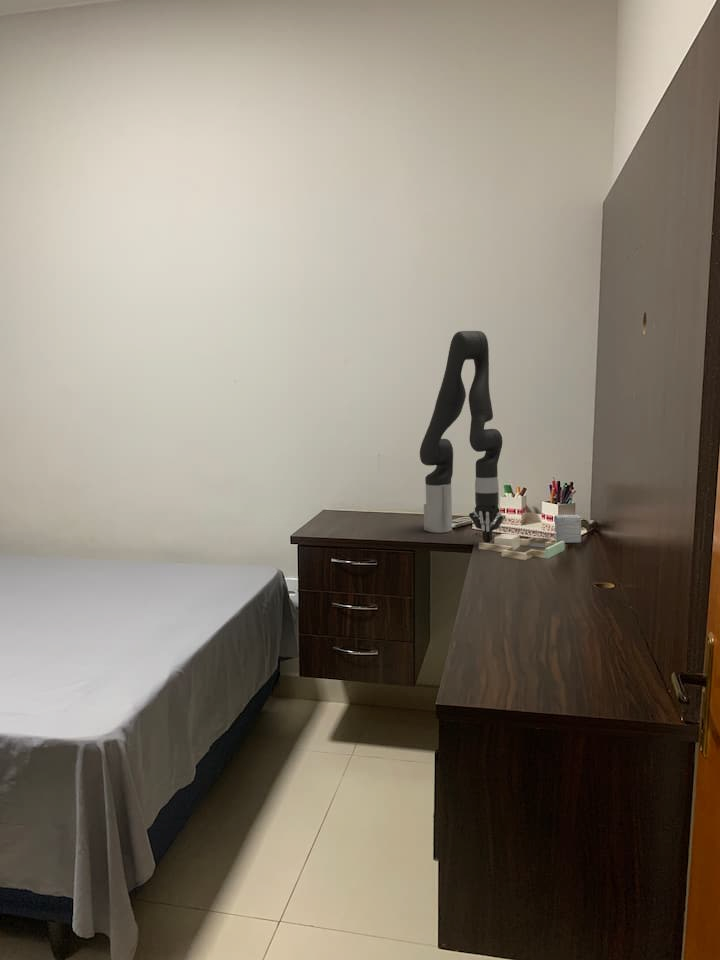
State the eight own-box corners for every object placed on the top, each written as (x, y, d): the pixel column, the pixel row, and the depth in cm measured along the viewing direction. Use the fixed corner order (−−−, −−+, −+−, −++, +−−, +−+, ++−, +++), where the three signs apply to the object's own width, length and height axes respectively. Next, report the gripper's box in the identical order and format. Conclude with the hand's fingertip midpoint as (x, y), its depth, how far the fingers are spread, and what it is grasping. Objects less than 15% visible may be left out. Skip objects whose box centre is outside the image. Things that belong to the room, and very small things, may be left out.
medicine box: (578, 539, 246) (578, 514, 245) (581, 543, 242) (581, 517, 240) (554, 540, 247) (554, 514, 246) (556, 543, 242) (556, 517, 241)
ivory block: (494, 549, 238) (494, 537, 238) (502, 545, 243) (502, 533, 243) (511, 551, 235) (511, 539, 234) (519, 547, 240) (519, 535, 239)
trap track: (470, 552, 235) (470, 543, 235) (504, 538, 252) (504, 529, 251) (540, 562, 220) (540, 552, 220) (571, 547, 237) (571, 537, 236)
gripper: (463, 490, 242) (464, 542, 245) (499, 493, 234) (499, 546, 236) (475, 487, 248) (475, 537, 250) (510, 490, 239) (510, 542, 242)
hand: (487, 542), depth 243 cm, fingers closed
